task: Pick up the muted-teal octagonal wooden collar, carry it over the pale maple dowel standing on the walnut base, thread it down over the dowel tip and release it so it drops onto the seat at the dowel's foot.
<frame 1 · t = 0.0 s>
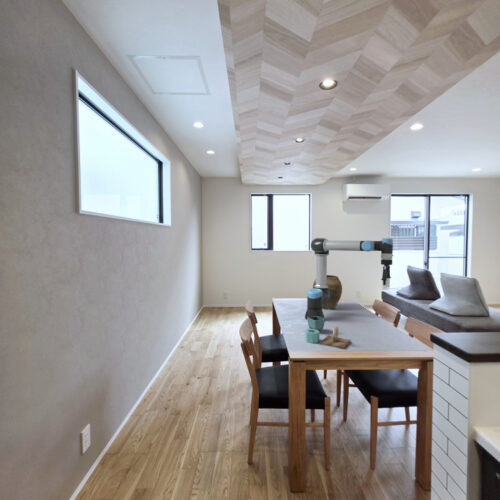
hand: (385, 288, 198), 28 cm above the table, fingers open, 13 cm apart
vase: (326, 308, 252), on the table
ring: (312, 340, 168), on the table
post stand: (335, 342, 164), on the table
flower pot: (315, 331, 186), on the table
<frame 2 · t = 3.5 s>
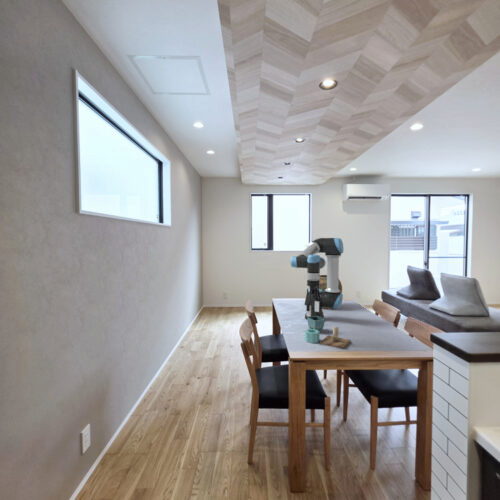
hand: (312, 313, 167), 17 cm above the table, fingers open, 13 cm apart
nothing on the table moved.
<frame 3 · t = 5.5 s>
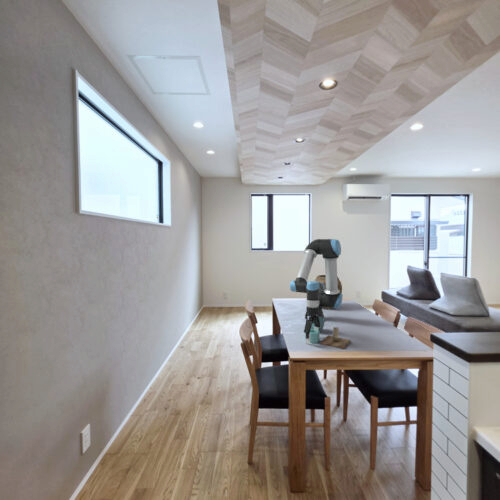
hand: (312, 340, 168), 0 cm above the table, fingers open, 13 cm apart
nothing on the table moved.
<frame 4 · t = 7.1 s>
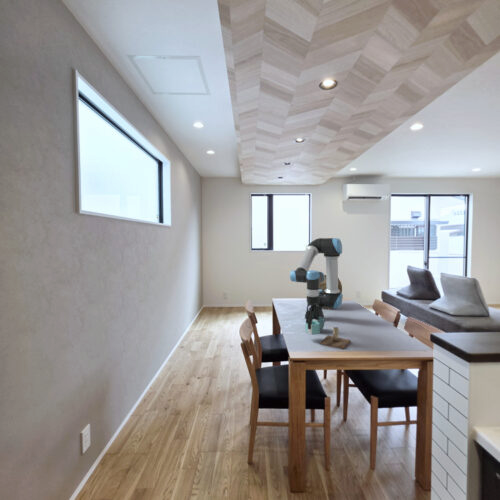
hand: (312, 331, 168), 5 cm above the table, fingers closed on ring, 8 cm apart
ring: (312, 332, 168), point 5 cm above the table, touching gripper
everything else where it was.
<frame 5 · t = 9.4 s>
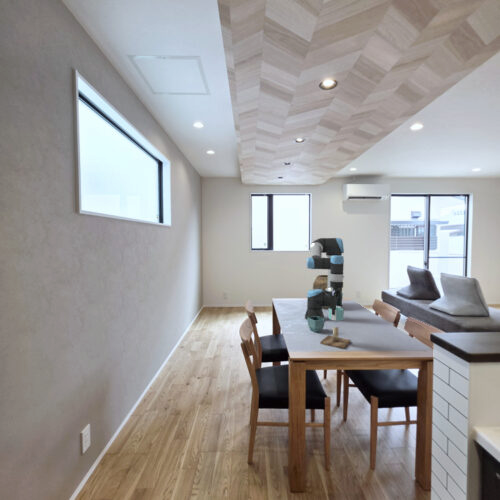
hand: (336, 318, 164), 15 cm above the table, fingers closed on ring, 8 cm apart
ring: (336, 318, 164), point 15 cm above the table, touching gripper
everything else where it was.
when the fingers open (4 cm above the table, at t = 12.1 s): ring drops 2 cm, resting on post stand.
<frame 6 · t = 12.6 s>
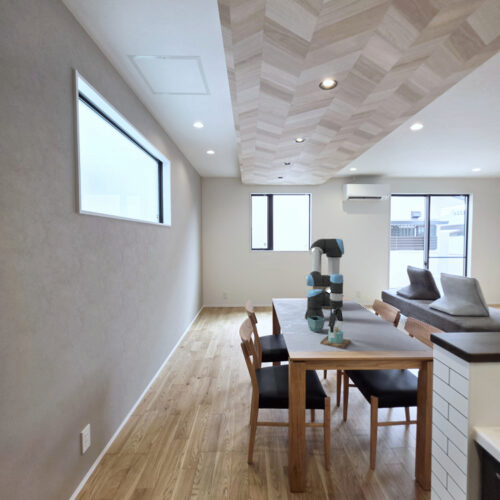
hand: (335, 334, 164), 5 cm above the table, fingers open, 13 cm apart
ring: (335, 340, 164), point 1 cm above the table, touching post stand
everything else where it was.
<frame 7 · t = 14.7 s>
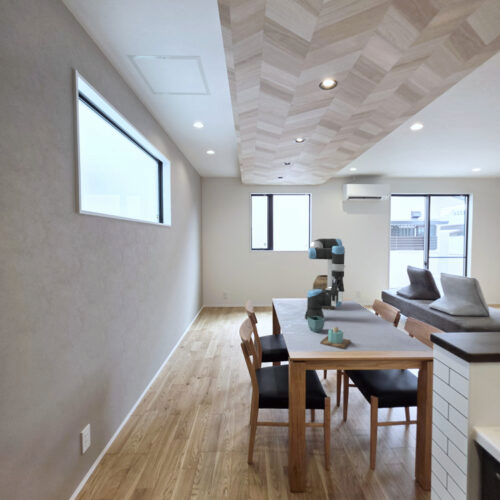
hand: (337, 303, 171), 22 cm above the table, fingers open, 13 cm apart
nothing on the table moved.
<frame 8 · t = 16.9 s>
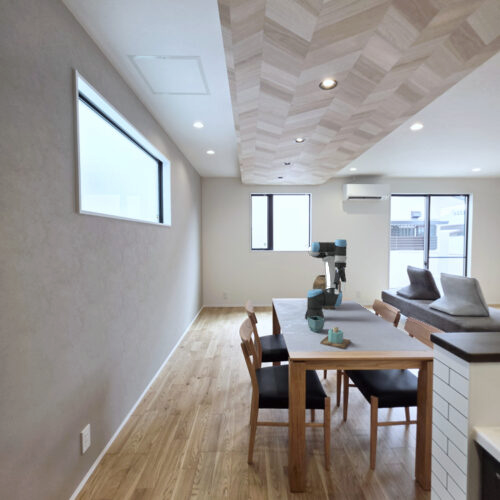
hand: (339, 292, 186), 27 cm above the table, fingers open, 13 cm apart
nothing on the table moved.
at the end: ring 0.0 cm off-centre on the post stand, point 1.2 cm above the post stand's base; the gripper is holding nothing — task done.
